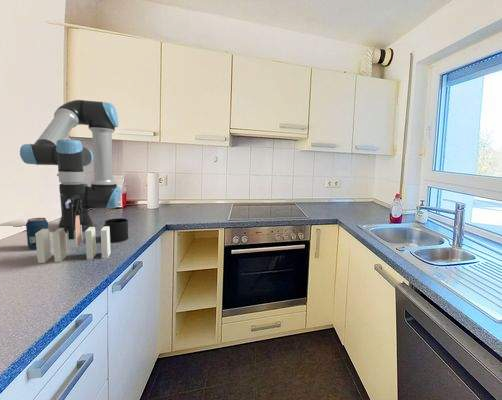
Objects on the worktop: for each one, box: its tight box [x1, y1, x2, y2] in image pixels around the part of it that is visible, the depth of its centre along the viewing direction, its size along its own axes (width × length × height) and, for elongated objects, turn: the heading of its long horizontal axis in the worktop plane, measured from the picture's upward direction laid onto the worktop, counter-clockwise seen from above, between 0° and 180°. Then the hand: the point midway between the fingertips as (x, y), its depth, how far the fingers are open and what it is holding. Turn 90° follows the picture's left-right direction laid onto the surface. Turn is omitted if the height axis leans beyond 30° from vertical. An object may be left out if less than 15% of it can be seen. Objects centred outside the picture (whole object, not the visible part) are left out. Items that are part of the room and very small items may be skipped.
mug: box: [102, 217, 129, 243], centre depth 120 cm, size 9×12×9 cm
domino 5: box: [100, 225, 112, 259], centre depth 100 cm, size 2×6×11 cm, turn 20°
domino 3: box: [75, 215, 82, 249], centre depth 96 cm, size 2×6×11 cm, turn 20°
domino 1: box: [35, 228, 52, 264], centre depth 94 cm, size 2×6×11 cm, turn 19°
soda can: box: [25, 217, 49, 251], centre depth 105 cm, size 7×7×12 cm
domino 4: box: [84, 226, 97, 261], centre depth 99 cm, size 2×6×11 cm, turn 20°
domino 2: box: [52, 227, 68, 263], centre depth 95 cm, size 2×6×11 cm, turn 20°
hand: (75, 244), depth 97 cm, fingers closed on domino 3, 6 cm apart
